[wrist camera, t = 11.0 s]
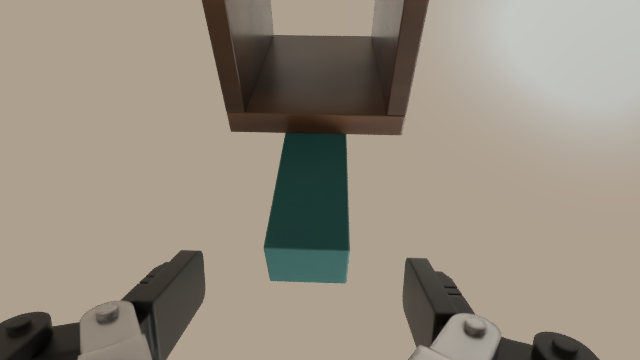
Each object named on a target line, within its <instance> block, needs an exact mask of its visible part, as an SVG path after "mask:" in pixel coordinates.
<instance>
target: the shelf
mask: <svg viewBox="0 0 640 360" xmlns="http://www.w3.org/2000/svg"><path fill="white" fill-rule="evenodd" d="M202 3H203V8H204V12H205V17H206V21H207V26H208V30H209V35H210V40H211V44H212V49H213V53H214V58H215V62H216V67H217V71H218V76H219V80H220V84H221V89H222V94H223V98H224V102H225V107H226V111H227V115H228V120H229V125H230V129H231V131H232V132H275V133H321V134H368V135H369V134H370V135H402V131H403V126H404V121H405V115H406V112H407V107H408V102H409V97H410V92H411V87H412V82H413V77H414V72H415V67H416V62H417V57H418V52H419V47H420V42H421V37H422V32H423V27H424V22H425V17H426V12H427V7H428V3H429V0H375V6H374V17H373V26H372V36H371V37H368V36H293V35H273V24H272V12H271V2H270V0H202Z"/></svg>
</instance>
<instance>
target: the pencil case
mask: <svg viewBox="0 0 640 360" xmlns="http://www.w3.org/2000/svg"><path fill="white" fill-rule="evenodd" d="M346 147H347V146H346V134H321V133H285V138H284V144H283V149H282V154H281V160H280V165H279V170H278V175H277V180H276V185H275V191H274V196H273V201H272V206H271V212H270V217H269V222H268V227H267V232H266V238H265V244H264V252H265V257H266V262H267V267H268V272H269V277H270V280H271V281H289V282H291V281H292V282H319V283H346V281H347V271H348V262H349V252H350V244H349V210H348V180H347V179H348V177H347V148H346Z"/></svg>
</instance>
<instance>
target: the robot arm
mask: <svg viewBox="0 0 640 360" xmlns="http://www.w3.org/2000/svg"><path fill="white" fill-rule="evenodd" d="M204 295H205V276H204V261H203V254H202V252H201V251H188V250H181V251H180V252H179V253H178V254H177V255H176V256H175V257H174V258H173V259H172V260H171V261H170V262H166V263H164V264H162V265H160V266H158V267H156V268H154V269H153V270H152V271H151V272H150V273H149V274H148V275H147V276H146V277H145V278H144V279H142V280H141V281H140V284H137V285H136V286H135V287H134V288H133V289H132V290H131V291H130V292H129V293H128V294H127V295H126V296H125V297H124V298H123V299H122V300H120V301H111V302H107V303H104V304H101V305H98V306H96V307H94V308H92V309H90V310H89V311H87V312H86V313H85V314H84V315H83V316H82V317H81V319H80V322H78V323H72V324H66V325H60V326H53V327H52V322H51V317H50V315H49V314H47V313H44V312H31V313H26V314H22V315H18V316H15V317H13V318H10V319H8V320H6V321H3V322H2V323H0V360H166V359H167V357H168V356H169V354H170V352H171V351H172V350H173V348H174V346H175V345H176V343H177V342H178V340H179V339H180V337H181V335H182V334H183V332H184V331H185V329H186V328H187V326H188V324H189V323H190V321H191V320H192V318H193V317H194V315H195V313H196V312H197V310H198V309H199V307H200V306H201V304H202V302H203V299H204ZM403 308H404V312H405V315H406V318H407V321H408V324H409V327H410V330H411V333H412V335H413V338H414V342H415V345H416V347H417V349H416V350H415V352H414V353H413V354H412V355H411V357H410V358H409V359H408V360H599V359H598V358H597V357H596V355H595V354H594V353H593V352H592V351H591V350H590V349H589V348H587V347H586V346H585V345H583V344H582V343H580V342H579V341H576V340H575V339H573V338H571V337H568V336H566V335H562V334H559V333H554V332H541V333H538V334H536V335H535V337H534V340H533V345H530V344H526V343H521V342H517V341H513V340H509V339H506V338H503V337H501V332H500V330H499V328H498V327H497V326H496V325H495V324H494V323H492V322H491V321H489V320H487V319H486V318H483V317H481V316H478V315H475V314H474V312H473V310H472V309H471V307H470V306H469V304H468V303H467V301H466V300H465V298H464V297H463V296H462V294H461V292H460V291H459V289H457V286H456V285H455V283H454V282H453V280H452V279H451V278H449V277H448V276H446V275H445V274H444V273H443V272H436V271H434V270H433V268H432V266H431V264H430V263H429V261H428V260H427V259H426V258H407V259H406V263H405V274H404V286H403Z"/></svg>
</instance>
